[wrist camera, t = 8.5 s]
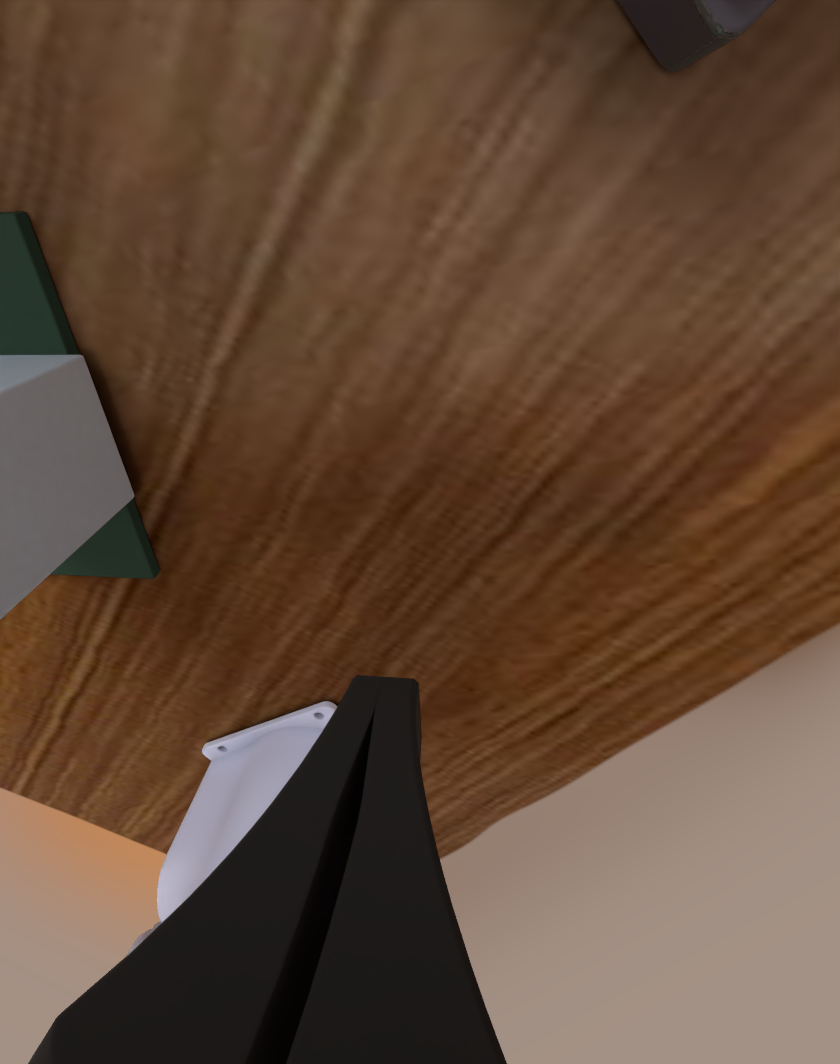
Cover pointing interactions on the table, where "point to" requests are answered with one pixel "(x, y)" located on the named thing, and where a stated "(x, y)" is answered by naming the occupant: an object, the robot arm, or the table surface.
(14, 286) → the rubber mat
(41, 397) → the grey block
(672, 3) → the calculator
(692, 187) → the table surface
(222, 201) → the table surface
